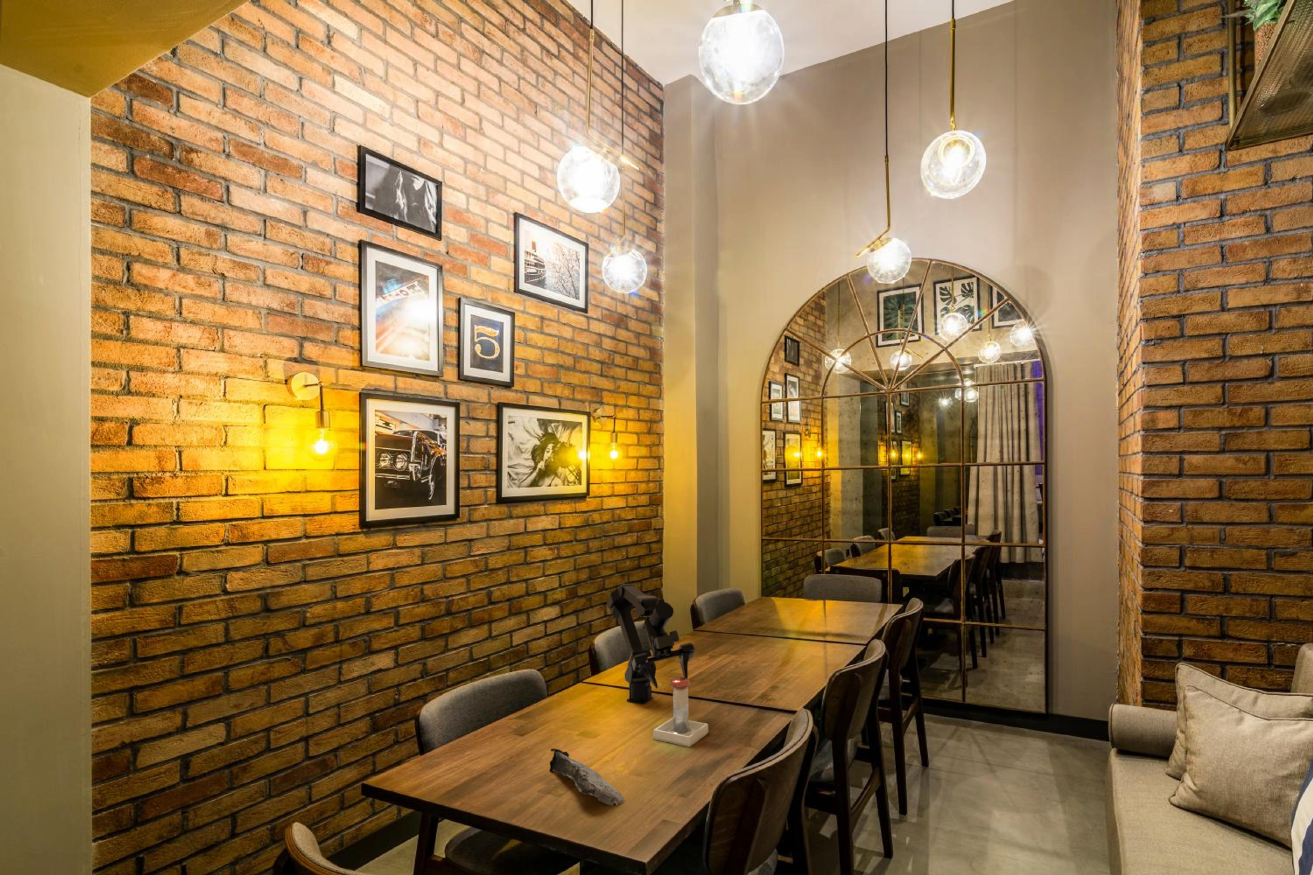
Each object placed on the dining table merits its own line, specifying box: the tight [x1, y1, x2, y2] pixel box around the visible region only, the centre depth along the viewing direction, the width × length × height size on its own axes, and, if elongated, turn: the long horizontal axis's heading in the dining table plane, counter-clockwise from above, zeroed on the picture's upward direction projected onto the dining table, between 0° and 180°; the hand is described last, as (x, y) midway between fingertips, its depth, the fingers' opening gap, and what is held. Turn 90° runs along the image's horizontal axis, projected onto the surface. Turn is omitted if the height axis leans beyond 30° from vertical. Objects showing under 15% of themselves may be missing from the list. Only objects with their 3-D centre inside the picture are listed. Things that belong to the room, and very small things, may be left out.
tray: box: [652, 717, 709, 748], centre depth 185 cm, size 11×11×2 cm
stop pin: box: [670, 676, 692, 736], centre depth 185 cm, size 6×6×15 cm
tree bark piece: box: [549, 748, 626, 807], centre depth 156 cm, size 27×9×10 cm
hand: (672, 683), depth 194 cm, fingers open, 9 cm apart
